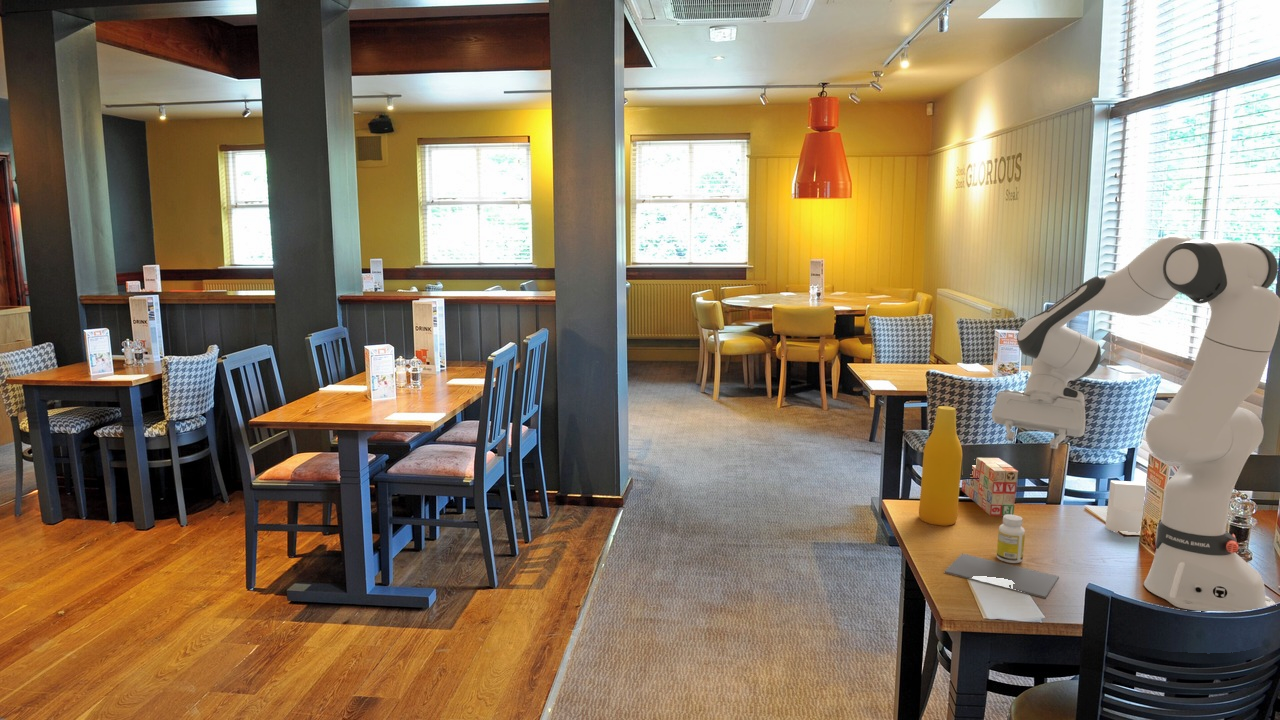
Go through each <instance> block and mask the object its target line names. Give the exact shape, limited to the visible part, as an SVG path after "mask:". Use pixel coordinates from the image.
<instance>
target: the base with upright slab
mask: <svg viewBox="0 0 1280 720" xmlns="http://www.w3.org/2000/svg"><path fill="white" fill-rule="evenodd" d="M1145 486H1146V482H1145V481H1144V482H1143V481H1129V480H1127V481H1126V480H1110V484H1109V490H1108V491H1109V492H1108V500H1107V502H1108V503H1107V509H1106V518H1105V526H1104V527H1105V528H1106V529H1107V530H1108V529H1109V530H1108V531H1110V530H1111V531H1110V532H1112V531H1116V532H1118V531H1128V532H1136V533H1138V532H1139V531H1140V526H1141V520H1142V515H1143V504H1144V497H1145Z"/></svg>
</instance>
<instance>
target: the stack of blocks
mask: <svg viewBox="0 0 1280 720" xmlns="http://www.w3.org/2000/svg"><path fill="white" fill-rule="evenodd" d="M972 469H973V471H972V474H970V475H973V477H970V478H979V479H966V480H962V479H961V491H962V492H963V494H965V495H966V496H967V497H969V499H970V500H972V501H973V502H975V503H976V505H978V506H979V507H980V508H981V509H982V510H983V511H984V512H985V513H986V514H988V515H989V516H1001V517H1002V516H1004V515H1007V514H1010V515H1015V514H1014V512H1015V506H1016V505H1015V502H1016V494H1017V487H1018V475H1019V470H1017V469H1016V468H1014V466H1012V465H1011V464H1009V463H1007V462H1006V461H1004V460H1002V459H1001V458H999V457H976V465H972Z"/></svg>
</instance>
